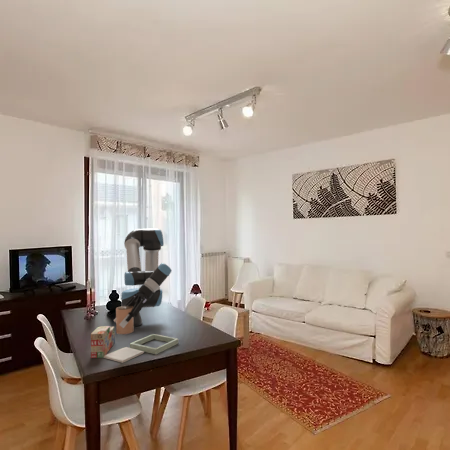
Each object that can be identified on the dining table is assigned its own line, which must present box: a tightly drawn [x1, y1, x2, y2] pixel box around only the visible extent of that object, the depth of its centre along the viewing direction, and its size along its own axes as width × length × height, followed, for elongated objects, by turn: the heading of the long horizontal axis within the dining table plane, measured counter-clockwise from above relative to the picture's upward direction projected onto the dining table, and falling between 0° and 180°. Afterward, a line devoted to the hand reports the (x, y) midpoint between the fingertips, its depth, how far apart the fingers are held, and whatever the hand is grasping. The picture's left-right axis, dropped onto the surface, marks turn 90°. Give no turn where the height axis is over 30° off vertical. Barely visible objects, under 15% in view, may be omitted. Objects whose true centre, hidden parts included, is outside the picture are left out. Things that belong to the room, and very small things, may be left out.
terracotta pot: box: [115, 306, 135, 335], centre depth 166 cm, size 8×8×12 cm
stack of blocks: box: [90, 325, 116, 359], centre depth 173 cm, size 21×6×12 cm, turn 4°
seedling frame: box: [129, 333, 179, 355], centre depth 179 cm, size 18×18×2 cm
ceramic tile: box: [103, 346, 145, 364], centre depth 165 cm, size 13×14×1 cm
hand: (118, 324), depth 164 cm, fingers closed on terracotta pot, 8 cm apart
